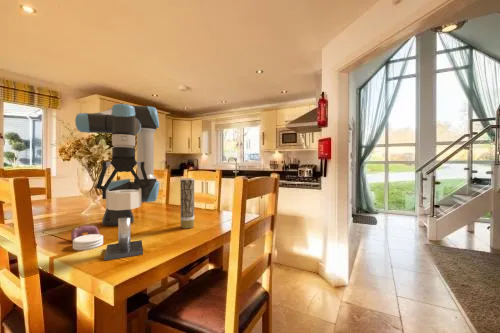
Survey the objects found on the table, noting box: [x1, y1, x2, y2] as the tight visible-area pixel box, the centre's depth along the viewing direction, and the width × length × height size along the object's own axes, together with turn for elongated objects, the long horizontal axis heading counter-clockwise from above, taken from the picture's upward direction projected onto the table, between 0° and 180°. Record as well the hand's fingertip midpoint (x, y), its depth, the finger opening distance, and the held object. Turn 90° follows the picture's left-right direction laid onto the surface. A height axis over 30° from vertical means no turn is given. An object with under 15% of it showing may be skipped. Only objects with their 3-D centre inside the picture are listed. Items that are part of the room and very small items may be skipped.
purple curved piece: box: [70, 224, 100, 243], centre depth 100 cm, size 10×5×7 cm, turn 135°
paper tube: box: [180, 177, 195, 229], centre depth 119 cm, size 7×7×25 cm
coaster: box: [72, 233, 104, 251], centre depth 93 cm, size 10×10×4 cm
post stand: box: [103, 217, 144, 261], centre depth 87 cm, size 12×12×12 cm
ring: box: [108, 190, 140, 210], centre depth 87 cm, size 10×10×6 cm
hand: (124, 206), depth 87 cm, fingers closed on ring, 10 cm apart
